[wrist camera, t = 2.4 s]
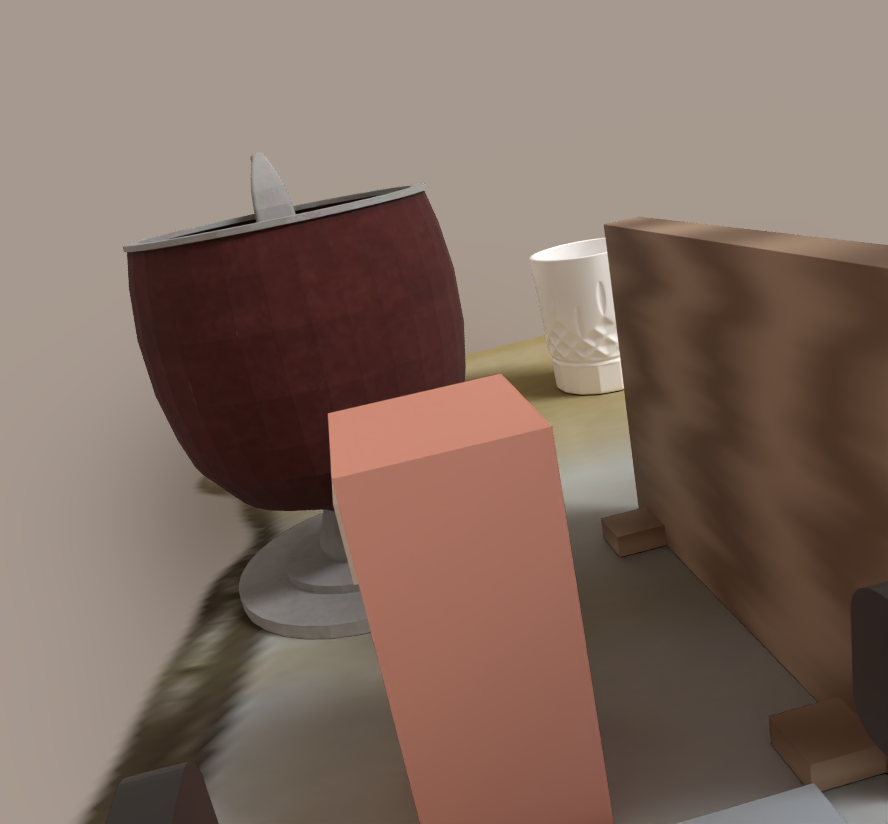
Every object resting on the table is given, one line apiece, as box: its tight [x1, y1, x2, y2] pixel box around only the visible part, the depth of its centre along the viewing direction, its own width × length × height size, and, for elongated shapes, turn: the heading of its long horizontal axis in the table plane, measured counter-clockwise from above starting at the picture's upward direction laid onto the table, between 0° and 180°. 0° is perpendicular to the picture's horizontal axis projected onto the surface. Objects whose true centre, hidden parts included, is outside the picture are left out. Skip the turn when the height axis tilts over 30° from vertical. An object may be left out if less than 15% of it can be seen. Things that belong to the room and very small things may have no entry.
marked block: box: [328, 374, 614, 824], centre depth 21 cm, size 5×5×12 cm
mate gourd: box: [123, 152, 466, 639], centre depth 36 cm, size 16×14×20 cm
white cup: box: [530, 238, 624, 395], centre depth 57 cm, size 8×8×10 cm
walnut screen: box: [601, 217, 888, 792], centre depth 27 cm, size 18×6×14 cm, turn 9°
